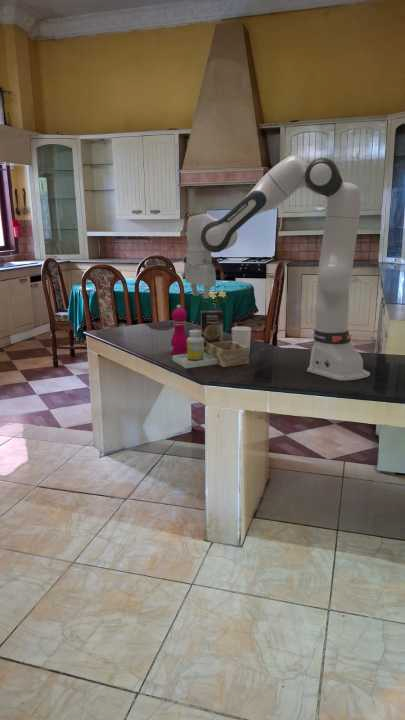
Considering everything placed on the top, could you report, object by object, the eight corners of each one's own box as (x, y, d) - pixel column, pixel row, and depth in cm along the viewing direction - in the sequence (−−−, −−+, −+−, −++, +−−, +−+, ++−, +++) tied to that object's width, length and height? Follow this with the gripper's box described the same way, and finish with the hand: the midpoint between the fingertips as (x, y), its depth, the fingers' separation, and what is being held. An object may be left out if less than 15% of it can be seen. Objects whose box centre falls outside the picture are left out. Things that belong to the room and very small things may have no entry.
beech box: (248, 363, 202) (249, 348, 200) (223, 367, 198) (223, 351, 196) (230, 355, 215) (230, 340, 213) (206, 358, 210) (206, 343, 209)
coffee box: (201, 350, 223) (200, 312, 219) (201, 347, 229) (200, 309, 225) (223, 350, 223) (223, 312, 219) (222, 346, 229) (222, 309, 225)
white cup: (249, 354, 215) (249, 330, 213) (230, 354, 217) (230, 329, 214) (251, 350, 222) (252, 326, 220) (233, 349, 224) (233, 326, 222)
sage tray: (217, 364, 202) (217, 359, 201) (185, 368, 197) (185, 363, 196) (203, 356, 213) (203, 351, 213) (172, 360, 208) (172, 355, 207)
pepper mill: (188, 355, 216) (187, 306, 211) (170, 355, 216) (169, 306, 211) (189, 351, 223) (188, 303, 218) (171, 351, 223) (170, 303, 218)
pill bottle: (193, 357, 208) (193, 328, 206) (207, 359, 205) (207, 330, 202) (183, 361, 203) (183, 331, 200) (197, 363, 200) (197, 333, 197)
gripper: (220, 260, 189) (220, 299, 192) (195, 257, 207) (197, 293, 210) (203, 261, 186) (204, 300, 190) (180, 258, 204) (182, 294, 208)
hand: (200, 296), depth 200 cm, fingers open, 8 cm apart
